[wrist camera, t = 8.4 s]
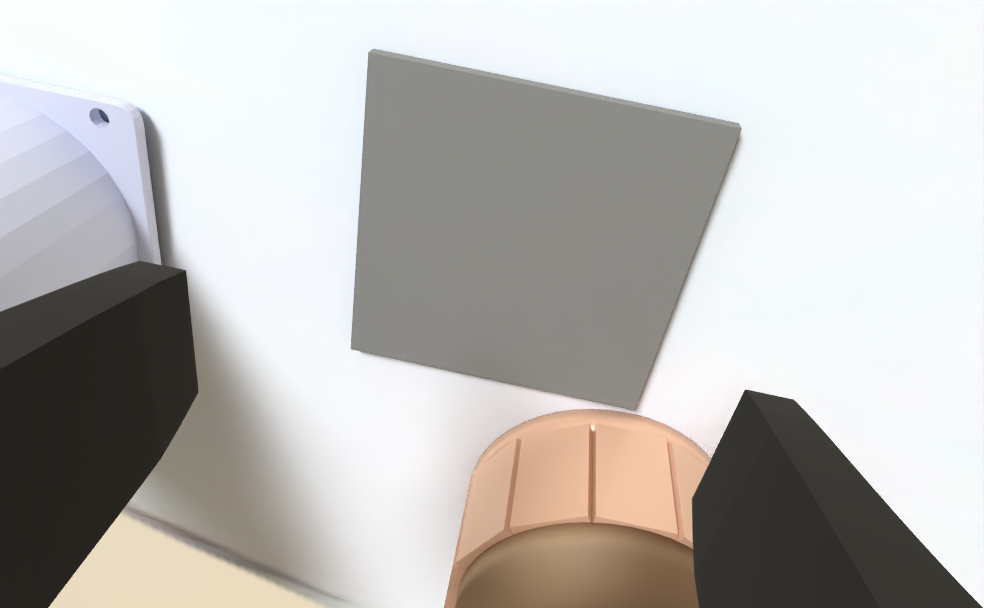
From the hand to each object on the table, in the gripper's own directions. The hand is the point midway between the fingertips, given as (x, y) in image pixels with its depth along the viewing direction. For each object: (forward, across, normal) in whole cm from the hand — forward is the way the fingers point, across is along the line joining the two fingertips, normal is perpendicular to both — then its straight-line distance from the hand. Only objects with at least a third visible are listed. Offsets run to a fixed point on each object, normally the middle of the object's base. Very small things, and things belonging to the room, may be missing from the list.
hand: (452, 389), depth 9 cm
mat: (+10, 0, +3) cm, 10 cm away
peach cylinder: (+10, -5, +12) cm, 17 cm away
